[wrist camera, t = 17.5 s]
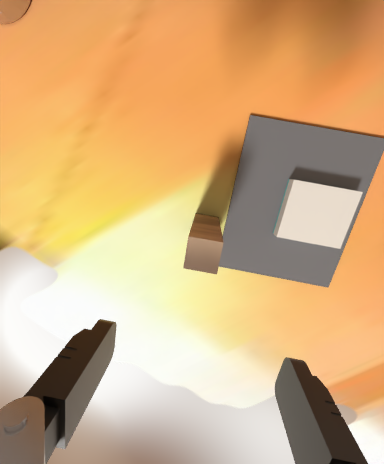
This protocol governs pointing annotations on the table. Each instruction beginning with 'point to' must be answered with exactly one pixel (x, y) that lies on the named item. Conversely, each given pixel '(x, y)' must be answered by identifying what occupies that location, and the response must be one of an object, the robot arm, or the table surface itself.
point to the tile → (316, 213)
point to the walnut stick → (204, 244)
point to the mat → (273, 188)
